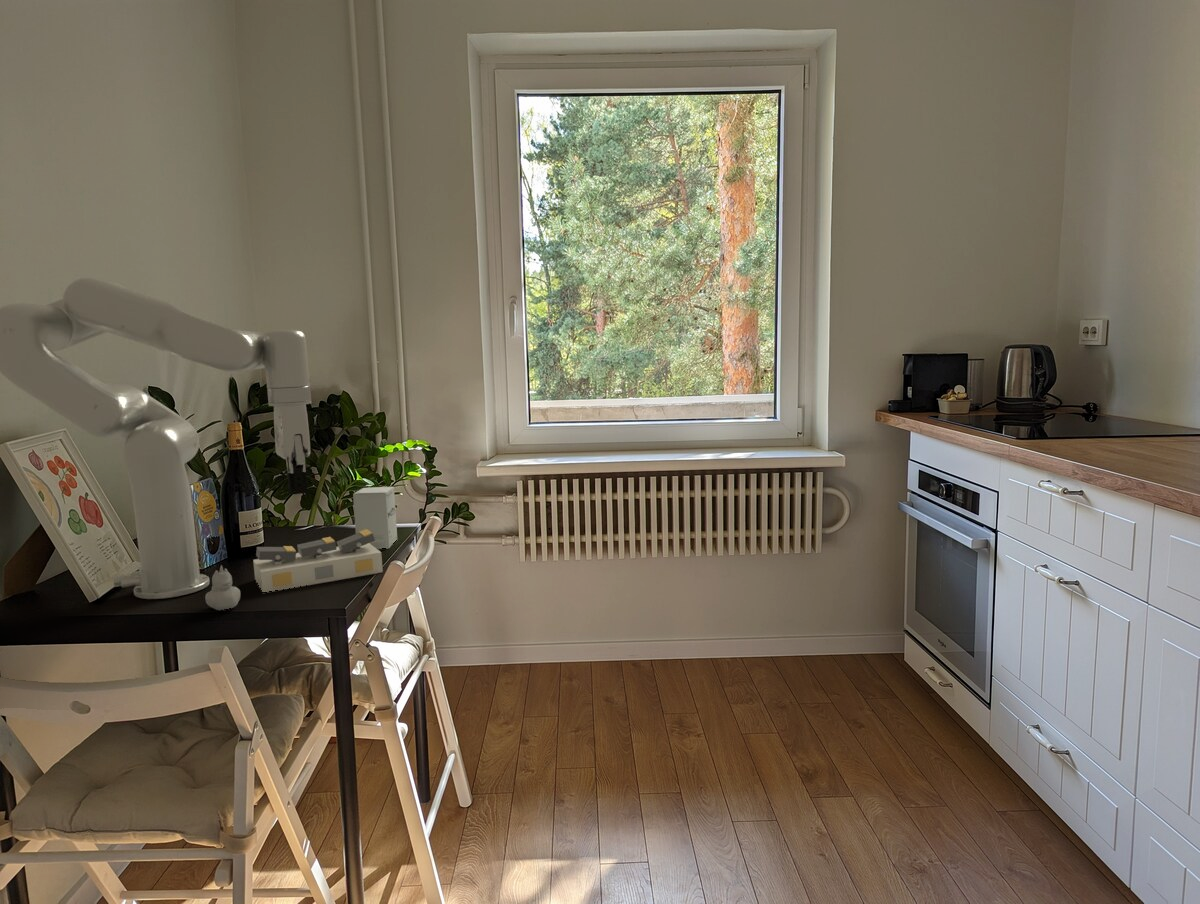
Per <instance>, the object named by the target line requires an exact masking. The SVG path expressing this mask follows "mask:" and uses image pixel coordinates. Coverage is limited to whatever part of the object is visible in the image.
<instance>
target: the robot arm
mask: <svg viewBox="0 0 1200 904" xmlns="http://www.w3.org/2000/svg"><path fill="white" fill-rule="evenodd" d="M106 333H108V334H111V335H112V334H113V335H116V336H119V337H121V338H123V339H128V340H132V341H133V342H138V343H140V344H144V345H145V346H149V347H151V348H155V349H157V350H159V351H162V352H165V353H169V354H172V355H174V356H177V357H180V358H182V359H185V360H188V361H190V362H194V363H197V364H200V365H204V366H206V367H210V368H213V369H216V370H218V371H222V372H227V373H232V374H233V373H235V374H236V373H243V372H250V371H255V370H256V371H257V370H261V369H264V371H265V378H266V388H267V389H266V390H267V400H268V407H273V425H274V427H273V428H274V441H275V442H274V443H275V448H274V449H275V454H277V456H278V457H280V458H282V459H283V460H285V461H286V471H287V473H286V475H287V476H286V477H287V488H288V492H289V493H288V494H290V495H292V496H293V495H300V494H307V493H308V491H309V488H308V487H309V486H308V476H307V475H308V474H307V469H306V458H308V457H310V455H311V441H310V440H311V439H310V429H309V419H308V411H307V405H309V404H312V403H313V402H312V393H311V392H312V391H311V381H310V371H309V361H308V349H307V339H306V335H305V334H304V332H303V331H301V330H298V329H279V330H277V329H276V330H269V331H266V332H262V331H253V330H243V329H234V328H229V327H226V326H222V325H219V324H216V323H213V322H211V321H207V320H204V319H202V318H198V317H196V316H194V315H190V314H188V313H186V312H185V311H182V310H181V309H179V307H177V306H176V305H175V304H173V303H171V302H168V301H165V300H163V299H160V298H156V297H154V296H151V295H147V294H144V293H141V292H138V291H135V290H132V289H129V288H127V287H125V286H123V285H121V284H120V283H117V282H115V281H112V280H105V279H100V278H96V277H82V278H78V279H76V280H74V281H73V282H71V283H69V285H68V286H67V287H66V288H65V290H64V292H63V295H62V298H61V299H59V300H56V301H54V302H51V303H48V304H37V303H34V304H33V303H25V302H23V303H21V302H18V303H11V304H7V305H3V306H1V307H0V374H1V375H2V376H3V377H4V378H6V379H7V380H8V381H9V382H10V383H11V384H13V385H15V386H16V387H17V388H19V389H20V390H22V391H23V392H25V393H26V394H28V395H29V396H31V397H33V398H34V399H36V400H38V401H39V402H41V403H42V404H44V405H45V406H46V407H48V408H49V409H51V410H52V411H54V412H55V413H57V414H58V415H60V416H62V417H63V418H65V419H66V420H68V422H71V423H72V424H74V425H75V426H77V427H78V428H80V429H81V430H83V431H84V432H85V433H86V434H89V435H90V436H94V437H96V438H100V439H101V438H102V439H104V438H105V439H107V438H113V437H117V436H120V437H121V438H123V439H124V443H123V448H122V457H123V463H124V466H125V470H126V474H127V477H128V481H129V485H130V492H131V498H132V499H131V500H132V505H133V507H132V508H133V512H134V521H135V522H134V523H135V529H136V530H135V531H136V537H137V539H136V540H137V546H138V556H139V564H140V566H138V570H137V571H132V573H130V574H121V575H113V577H112V578H113V585H114V587H115V588H116V587H121V588H127V587H128V588H129V587H132V586H134V588H133V596H135V597H136V598H139V599H145V600H158V599H159V600H161V599H170V598H177V597H182V596H185V595H190V594H192V593H193V594H194V593H196V592H198V591H201V590H203V589H205V588H207V587H209V585H210V583H211V582H210V581H211V580H210V577H209V575H208V576H207V575H206V574H203V573H200V565H199V564H200V563H199V556H198V545H197V538H196V537H197V536H196V529H195V528H196V527H195V518H194V510H193V509H194V507H193V503H192V502H193V501H192V493H191V492H192V491H191V487H190V481H189V478H188V473H187V471H186V470H187V469H186V466H185V464H186V463H188V462H190V461H191V460H192V459H193V458H194V457H195V456H196V455H197V454H198V451H199V449H200V437H199V434H198V432H197V430H196V429H195V427H194V426H193V425H192V424H191V423H190V422H189V421H188V420H187V419H185V418H184V417H183V416H181V415H179V414H178V413H176V412H175V411H174V410H171V409H170V408H168V407H167V406H166V405H164V404H163V403H161V401H158V400H156V398H154V397H152V396H151V395H149V394H148V393H146V392H145V391H143V390H141V389H139V388H136V386H135V387H134V386H132V385H129V384H125V383H105V382H102V381H101V380H99V379H98V378H95V377H94V376H92V375H91V374H90V373H87V372H86V371H84V370H83V369H82V368H80V367H79V366H78V365H76V364H74V363H73V362H71V361H69V360H67V359H66V358H63V357H62V356H59V355H57V354H56V353H54V352H59V351H63V350H65V349H69V348H71V347H74V346H76V345H78V344H81V343H85V342H86V341H88V340H91V339H94V338H96V337H99V336H101V335H103V334H106Z"/></svg>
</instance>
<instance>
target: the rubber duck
mask: <svg viewBox="0 0 1200 904" xmlns="http://www.w3.org/2000/svg"><path fill="white" fill-rule="evenodd" d="M211 584H212V586H211V590H210V591H208V592H206V594H205V597H204V599H205V603H206V604H207V605H208V606H209V607H210V608H212V609H214V610H216V611H221V610H223V611H225V610H224V609H228V610H230V609H229V608H231V609H233V608H235V607H236V606H237V605H238V603H239V601H240V600H241V590H240V589H239V588H238V587H237V586H234V585H233V577H232V575H231V573H230V572H229V571H228V569H227V568H224V567H223V565H222V564H220V567H219V571H218V570H217V569H216V570H215V571H214V573H213V575H212V577H211Z"/></svg>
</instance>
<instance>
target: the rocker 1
mask: <svg viewBox="0 0 1200 904" xmlns="http://www.w3.org/2000/svg"><path fill="white" fill-rule="evenodd" d="M296 553H297V551H296V548H294V546H292V545H283V546H256V553H255V556H256V557H257V559H259V560H296Z"/></svg>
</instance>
